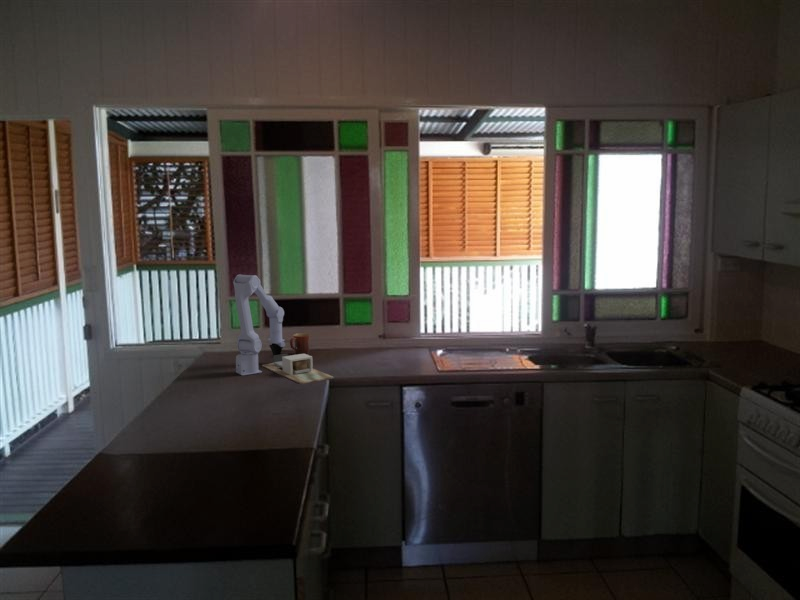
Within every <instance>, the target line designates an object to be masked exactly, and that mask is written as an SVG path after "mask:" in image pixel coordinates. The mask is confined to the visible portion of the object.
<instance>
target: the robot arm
mask: <svg viewBox="0 0 800 600" xmlns="http://www.w3.org/2000/svg"><path fill="white" fill-rule="evenodd" d="M232 284H233V288H234V290H233V291H234V300H235V306H236V311H237V316H238V321H239V327H240V334H239V335H238V336H237V337H236V338H237V342H236V344H237V345H236V347H237V349H238V351H239V352H240V353H239V354H236V357H235V373H237V374H238V375H241V376H249V375H254V374H261V373H263V371H262V370H261V369H259V353H260V352H261V350H262V346H263V344H262V343H263V342H262V340H261V339H260V336H259V334H258V333H256V332H255V329H254V324H253V318H252V313H251V307H250V300H249V297H250V296H252V295H253V294H255V296H257V297H258V298H259V299H260V305H261V306H262V307H263V308H264V310H265V312H266V313H265V314H266V317H268V319H269V337H268V338H267V342H268V343H271V344H269V348H270V350H271V352H272V357H273V356H274V355H280V354H282V350H283V348H285V347H286V342H285V341H286V339H283V321H284V316H285V310H284V308H283V307H281V306H279V305H278V303H277V302H276V301H275V299H274V298H273V296H272V295H268V294H267V293H266V291H265V289H264V288H263V286H262V285H261V279H260V278H259V277H258V275H255V274H254V275H250V274H241V273H240V274H237V275H236V276H235V278H234V280H233V283H232Z"/></svg>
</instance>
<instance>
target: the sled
mask: <svg viewBox="0 0 800 600" xmlns="http://www.w3.org/2000/svg"><path fill="white" fill-rule="evenodd" d="M284 356H289V353H281V354H280V355H274V356H273V355H272V360H273V361H272V363H273V364H275V365H277V366H279V367H281V368H283V367H282V357H284ZM304 372H310V369H308V368H307V369H305V370H299V371H296V370H294V369H293V373H295V374H298V373H304Z"/></svg>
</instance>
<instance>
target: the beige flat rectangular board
mask: <svg viewBox="0 0 800 600" xmlns="http://www.w3.org/2000/svg"><path fill="white" fill-rule="evenodd" d="M261 367H263V368H265V369H267V370H269V371H271V372H274V373H275V374H278V375H279V376H282V377H284V378H286V379H289V380H290V381H293V382H295V383H297V384H299V385H303V384H308V383H315V382H319V381H320V382H321V381H324V380H325V381H326V380H331V379H334V376H333V375H330V374H328V373H325V372H323V371H320V370H318V369H316V368H313V371H310V372H304V373H298V374H295V373H293V375H290V374H287V373H285V372H283V368H281V367H279V366H277V365H275V364H273V362H272V363H266V364H261Z"/></svg>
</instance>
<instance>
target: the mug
mask: <svg viewBox="0 0 800 600" xmlns="http://www.w3.org/2000/svg"><path fill="white" fill-rule="evenodd" d="M310 337H311V333H307V332H304V333H302V332H299V333H294V334H292V337H291V338H290V339H289V346H290V348H291V349H292V350H294V355H298V354H307V355H309V353H310ZM293 341H294V343H293Z"/></svg>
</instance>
